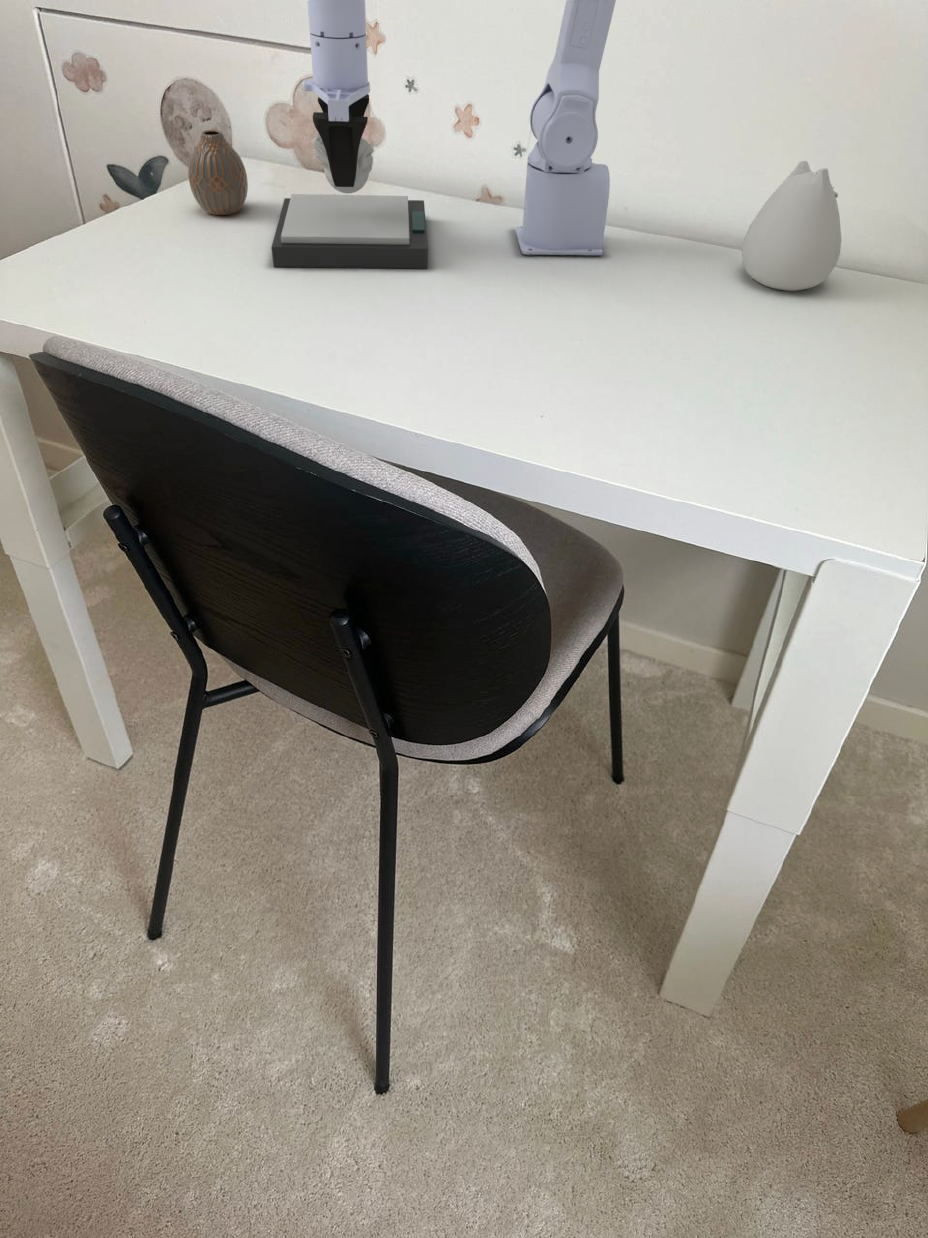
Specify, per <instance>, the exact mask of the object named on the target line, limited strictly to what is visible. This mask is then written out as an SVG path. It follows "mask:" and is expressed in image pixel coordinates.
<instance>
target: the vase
mask: <svg viewBox="0 0 928 1238" xmlns="http://www.w3.org/2000/svg"><path fill="white" fill-rule="evenodd" d="M188 182H189V186H190V191H191V193H192V195H193V198H194V199H195V201H196V203H197V204H198V205H199V207H201V208H202V209H203V210H204V211H205V212H206V213H208V214H210V215H214V216H229V215H233V214H236V213H238V212H239V211H240V210H241V208H243V206H244V204H245V202H246V200H247V196H248V190H249V189H248V188H249V185H248V175H247V170H246V168H245V165H244V162H243V160H242V159H241V156H240V155H239V154H238V152H237V151H236V150H235V149H234V148H233V147H232V145H231V144H230V143H229V141H227V139H226V138H225V135H224V133H223V132H222V131H221V130H218V129H205V130H203V131H201V132H200V137H199V141H198V143H197V145H196V147H195V148H194V150H193V152H192V154H191V156H190V158H189V164H188Z"/></svg>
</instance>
